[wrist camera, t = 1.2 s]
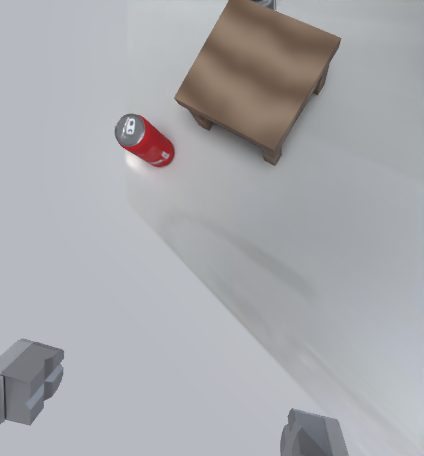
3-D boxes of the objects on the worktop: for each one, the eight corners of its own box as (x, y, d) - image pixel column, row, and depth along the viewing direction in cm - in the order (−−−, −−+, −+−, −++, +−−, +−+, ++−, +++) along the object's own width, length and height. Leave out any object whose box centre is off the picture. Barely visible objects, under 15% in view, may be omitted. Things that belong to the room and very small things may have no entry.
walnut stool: (243, 43, 53) (232, -7, 43) (328, 82, 50) (341, 38, 39) (195, 126, 54) (174, 97, 44) (276, 169, 51) (273, 150, 40)
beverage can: (146, 166, 56) (110, 146, 45) (151, 138, 56) (116, 110, 45) (173, 169, 55) (143, 150, 43) (178, 141, 55) (149, 113, 43)
